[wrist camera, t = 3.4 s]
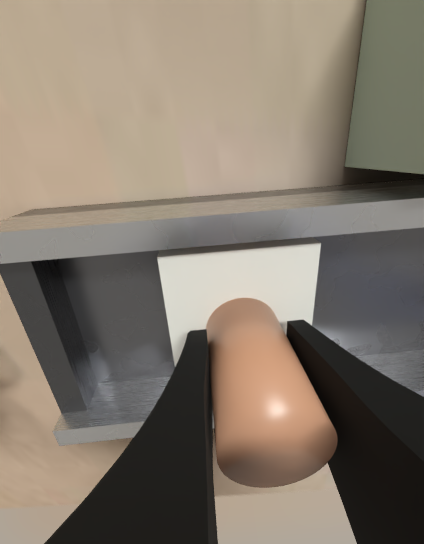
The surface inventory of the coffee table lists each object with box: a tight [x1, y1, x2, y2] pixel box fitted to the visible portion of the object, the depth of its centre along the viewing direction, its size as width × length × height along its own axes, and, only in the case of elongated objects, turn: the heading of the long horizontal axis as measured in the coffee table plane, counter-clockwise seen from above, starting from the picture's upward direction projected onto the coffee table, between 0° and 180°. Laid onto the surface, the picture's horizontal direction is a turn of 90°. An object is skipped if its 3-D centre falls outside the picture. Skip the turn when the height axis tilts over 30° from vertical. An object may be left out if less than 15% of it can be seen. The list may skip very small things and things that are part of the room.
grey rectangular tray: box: [0, 179, 424, 446], centre depth 12 cm, size 10×22×4 cm, turn 93°
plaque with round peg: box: [157, 237, 338, 488], centre depth 9 cm, size 7×6×6 cm
